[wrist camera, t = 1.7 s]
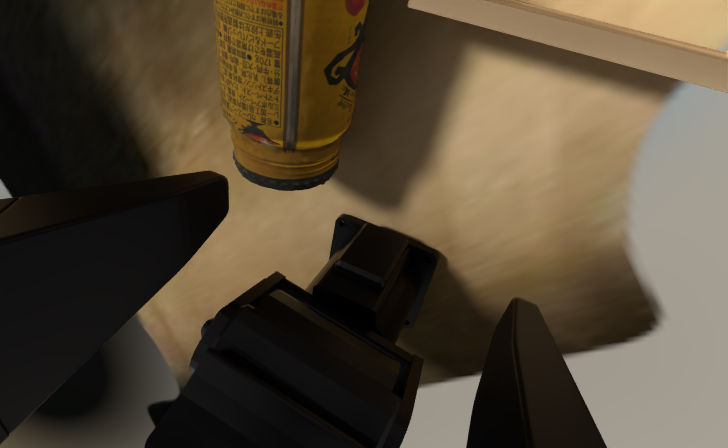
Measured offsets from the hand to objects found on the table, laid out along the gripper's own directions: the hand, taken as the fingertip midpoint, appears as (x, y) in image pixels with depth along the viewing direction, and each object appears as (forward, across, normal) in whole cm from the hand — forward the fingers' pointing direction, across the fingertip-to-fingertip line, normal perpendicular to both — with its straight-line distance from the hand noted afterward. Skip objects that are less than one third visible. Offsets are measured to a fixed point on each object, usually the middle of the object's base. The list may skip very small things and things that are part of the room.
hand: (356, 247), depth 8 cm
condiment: (+9, +8, -7) cm, 14 cm away
